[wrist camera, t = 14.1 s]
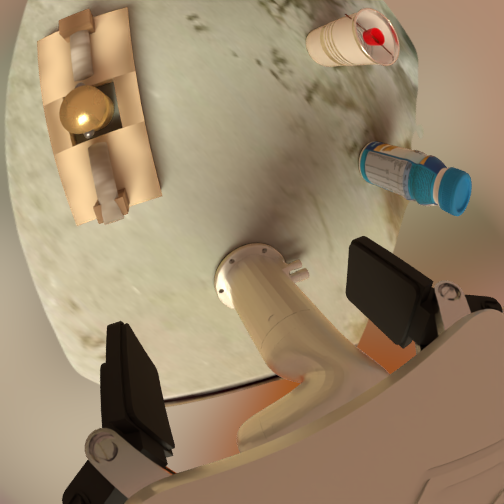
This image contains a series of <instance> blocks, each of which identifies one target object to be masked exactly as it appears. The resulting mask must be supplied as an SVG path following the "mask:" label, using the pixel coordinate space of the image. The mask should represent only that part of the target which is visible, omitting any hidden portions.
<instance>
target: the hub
mask: <svg viewBox="0 0 504 504" xmlns="http://www.w3.org/2000/svg"><path fill="white" fill-rule="evenodd" d="M113 114H114V105H113V102H112V100H111V99H110V98H109V97H108V96H107V95H105V94H104V93H103V92H101V91H100V90H99V89H97V88H95V87H93V86H89V85H85V84H84V83H83V82H80V83H78V84H77V85H76V86H75V89H73V90H72V91H71V92H69V93H68V94H67V95H66V97H65V98H64V100H63V101H62V104H61V106H60V111H59V117H60V122H61V124H62V126H63V127H64V128H65V129H66V130H67V131H69V132H71V133H74V134H82V133H83V134H84V137H85V138H91V137H92V136H93V135H94V131H99V130H101V129H103V128H104V127H106V126H107V125H108V124H109V123H110V121H111V119H112V117H113Z"/></svg>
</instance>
